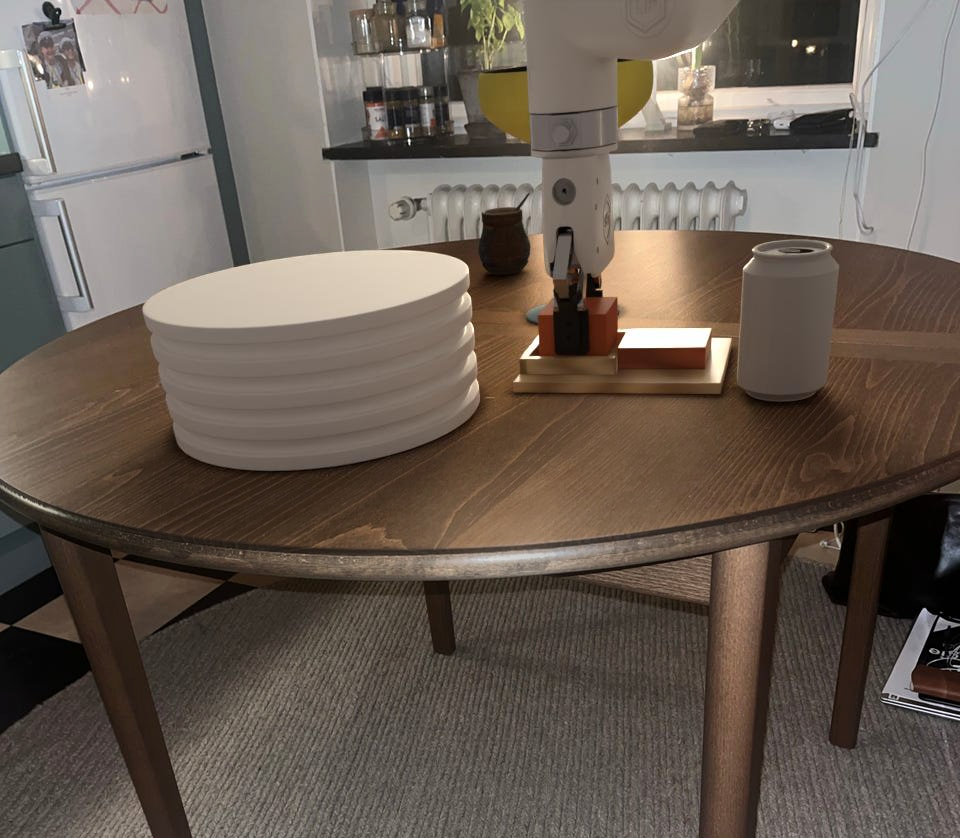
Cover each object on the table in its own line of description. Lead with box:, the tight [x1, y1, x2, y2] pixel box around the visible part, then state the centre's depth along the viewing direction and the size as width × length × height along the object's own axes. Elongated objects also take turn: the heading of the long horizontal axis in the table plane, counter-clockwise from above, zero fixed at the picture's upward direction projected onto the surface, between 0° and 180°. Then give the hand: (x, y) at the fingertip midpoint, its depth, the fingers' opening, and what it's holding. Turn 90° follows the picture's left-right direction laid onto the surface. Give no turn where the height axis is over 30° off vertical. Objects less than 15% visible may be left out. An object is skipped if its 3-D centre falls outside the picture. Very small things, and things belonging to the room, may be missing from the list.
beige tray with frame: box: [512, 327, 733, 395], centre depth 93 cm, size 19×14×3 cm
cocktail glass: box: [477, 58, 655, 325], centre depth 106 cm, size 18×18×25 cm
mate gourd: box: [477, 192, 531, 276], centre depth 133 cm, size 7×8×10 cm
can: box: [736, 239, 840, 403], centre depth 81 cm, size 8×8×12 cm
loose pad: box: [537, 296, 619, 356], centre depth 93 cm, size 6×6×4 cm
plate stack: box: [141, 249, 481, 472], centre depth 87 cm, size 28×28×12 cm
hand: (579, 341), depth 93 cm, fingers closed on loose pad, 6 cm apart
